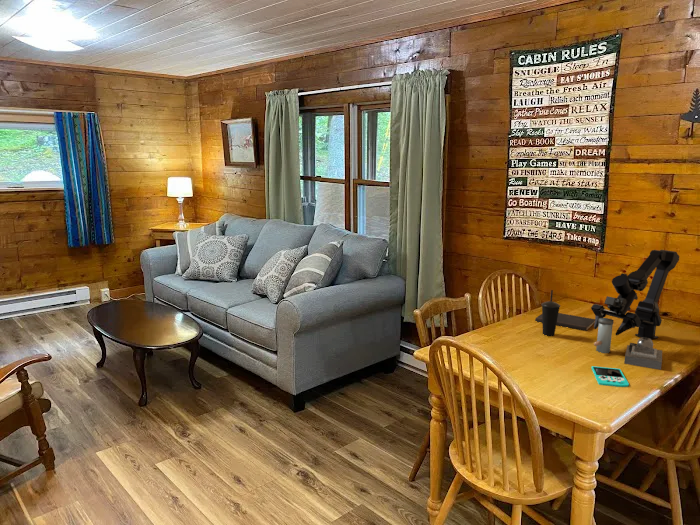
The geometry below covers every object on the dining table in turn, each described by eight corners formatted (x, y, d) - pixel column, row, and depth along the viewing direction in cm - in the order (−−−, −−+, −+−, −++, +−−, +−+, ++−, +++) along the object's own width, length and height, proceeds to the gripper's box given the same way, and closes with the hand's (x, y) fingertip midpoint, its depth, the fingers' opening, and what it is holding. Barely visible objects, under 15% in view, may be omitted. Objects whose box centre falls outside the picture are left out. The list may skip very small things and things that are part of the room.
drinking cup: (538, 336, 234) (542, 291, 230) (539, 330, 240) (543, 287, 237) (557, 338, 231) (561, 293, 227) (558, 333, 238) (561, 289, 234)
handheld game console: (597, 386, 184) (598, 382, 184) (590, 368, 199) (590, 365, 199) (630, 389, 181) (630, 385, 181) (619, 371, 196) (620, 368, 196)
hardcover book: (545, 315, 267) (546, 310, 266) (595, 323, 253) (595, 319, 253) (534, 322, 254) (535, 318, 254) (586, 332, 241) (586, 327, 240)
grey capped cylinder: (600, 347, 219) (603, 317, 217) (613, 351, 215) (616, 320, 213) (588, 351, 215) (591, 320, 213) (601, 355, 211) (604, 323, 208)
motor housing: (627, 347, 220) (629, 334, 219) (661, 353, 214) (663, 339, 213) (624, 363, 203) (625, 349, 202) (660, 369, 197) (662, 355, 196)
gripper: (595, 284, 222) (576, 314, 218) (640, 294, 206) (620, 326, 203) (605, 300, 227) (586, 329, 224) (649, 311, 212) (630, 342, 208)
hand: (605, 331), depth 214 cm, fingers open, 9 cm apart
